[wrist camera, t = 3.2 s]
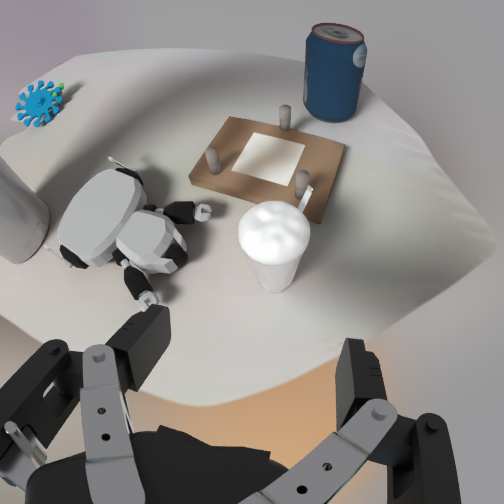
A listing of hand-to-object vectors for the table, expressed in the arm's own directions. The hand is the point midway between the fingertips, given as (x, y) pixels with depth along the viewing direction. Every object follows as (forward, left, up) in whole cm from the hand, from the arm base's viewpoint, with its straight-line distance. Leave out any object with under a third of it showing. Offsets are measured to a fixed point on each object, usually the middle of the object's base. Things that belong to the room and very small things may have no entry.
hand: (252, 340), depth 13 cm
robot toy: (-17, +6, -12) cm, 21 cm away
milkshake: (-2, +7, -12) cm, 14 cm away
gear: (-53, +22, -12) cm, 58 cm away
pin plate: (-7, +18, -12) cm, 23 cm away
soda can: (-3, +31, -12) cm, 33 cm away
